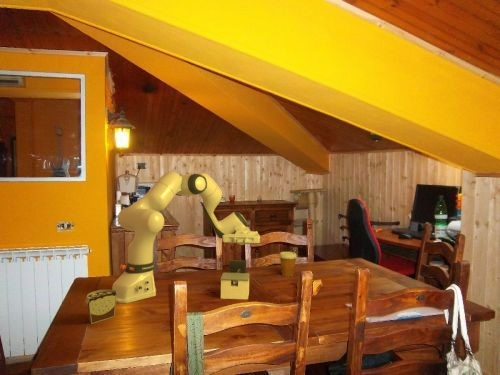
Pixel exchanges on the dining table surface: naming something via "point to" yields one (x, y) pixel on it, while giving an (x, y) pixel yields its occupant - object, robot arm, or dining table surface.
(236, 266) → the plunger
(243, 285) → the block
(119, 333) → the dining table surface
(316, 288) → the slice of bread
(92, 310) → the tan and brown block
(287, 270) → the disposable coffee cup
